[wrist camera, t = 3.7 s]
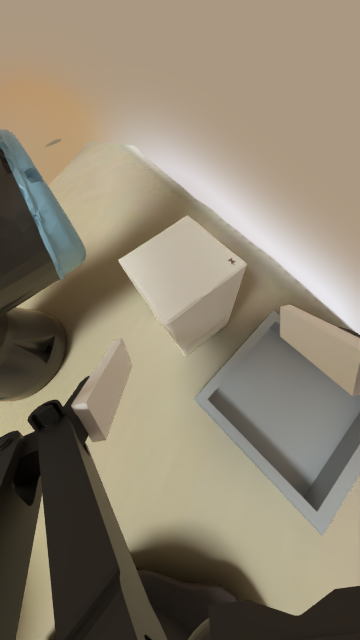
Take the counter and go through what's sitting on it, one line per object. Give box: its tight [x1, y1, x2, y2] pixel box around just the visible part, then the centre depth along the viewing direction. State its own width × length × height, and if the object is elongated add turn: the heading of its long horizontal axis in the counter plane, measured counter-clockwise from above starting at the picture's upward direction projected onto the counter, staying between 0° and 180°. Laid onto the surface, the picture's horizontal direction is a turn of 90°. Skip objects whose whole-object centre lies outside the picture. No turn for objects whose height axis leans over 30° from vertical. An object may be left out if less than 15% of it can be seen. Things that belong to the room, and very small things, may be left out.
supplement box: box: [118, 215, 247, 356], centre depth 23 cm, size 9×9×15 cm
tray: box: [194, 311, 360, 536], centre depth 22 cm, size 16×16×4 cm
